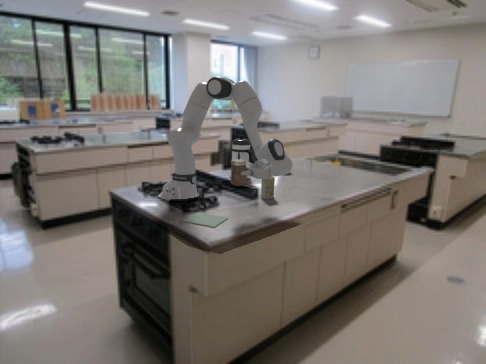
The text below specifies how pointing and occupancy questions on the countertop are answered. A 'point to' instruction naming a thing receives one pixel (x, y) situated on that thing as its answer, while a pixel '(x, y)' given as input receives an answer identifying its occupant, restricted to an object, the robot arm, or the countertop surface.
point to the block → (238, 172)
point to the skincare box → (267, 188)
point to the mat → (206, 219)
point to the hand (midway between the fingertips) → (236, 171)
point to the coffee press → (241, 150)
